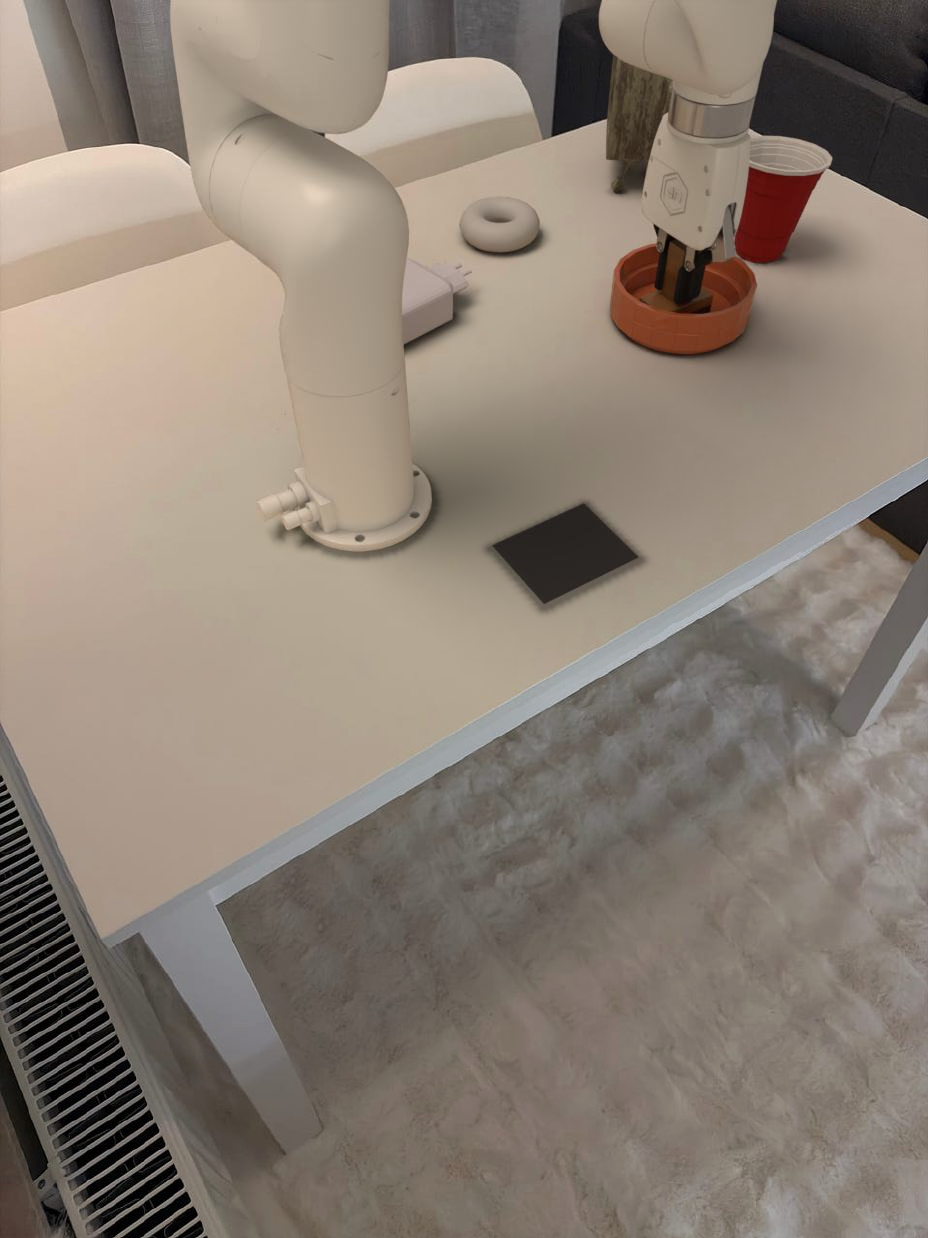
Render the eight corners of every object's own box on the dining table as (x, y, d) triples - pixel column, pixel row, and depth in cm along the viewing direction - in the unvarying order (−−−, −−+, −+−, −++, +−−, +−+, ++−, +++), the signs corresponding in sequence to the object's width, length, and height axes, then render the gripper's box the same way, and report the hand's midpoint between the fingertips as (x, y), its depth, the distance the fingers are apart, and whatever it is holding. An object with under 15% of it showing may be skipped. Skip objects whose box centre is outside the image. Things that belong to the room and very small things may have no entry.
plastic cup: (817, 242, 113) (847, 141, 104) (786, 282, 107) (815, 179, 98) (733, 219, 117) (755, 120, 108) (700, 257, 111) (720, 156, 102)
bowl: (668, 374, 96) (675, 332, 93) (582, 306, 105) (586, 266, 101) (774, 329, 101) (786, 288, 98) (685, 268, 110) (692, 228, 106)
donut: (554, 232, 116) (489, 209, 119) (556, 206, 113) (489, 182, 117) (509, 267, 111) (443, 241, 114) (511, 240, 108) (443, 214, 112)
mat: (543, 606, 76) (544, 603, 76) (492, 548, 81) (492, 545, 80) (638, 560, 80) (638, 556, 79) (583, 506, 84) (584, 502, 84)
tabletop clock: (603, 149, 130) (625, -64, 111) (667, 151, 129) (701, -63, 110) (603, 197, 121) (626, -25, 102) (672, 200, 120) (709, -23, 101)
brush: (658, 340, 99) (672, 261, 92) (635, 323, 101) (647, 244, 94) (708, 320, 101) (725, 241, 94) (684, 303, 103) (699, 225, 96)
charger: (493, 302, 106) (392, 355, 99) (440, 271, 110) (341, 320, 104) (493, 264, 102) (389, 316, 96) (438, 234, 106) (335, 281, 100)
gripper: (623, 89, 87) (603, 269, 102) (739, 153, 79) (699, 339, 93) (684, 72, 90) (656, 250, 104) (803, 132, 81) (754, 317, 95)
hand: (676, 291), depth 98 cm, fingers closed on brush, 2 cm apart
